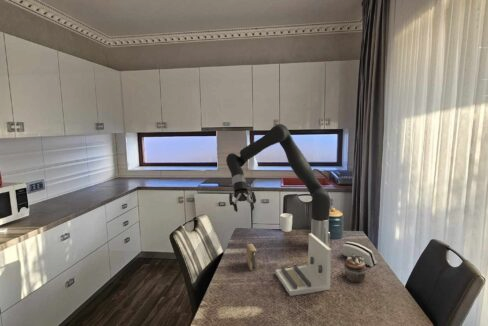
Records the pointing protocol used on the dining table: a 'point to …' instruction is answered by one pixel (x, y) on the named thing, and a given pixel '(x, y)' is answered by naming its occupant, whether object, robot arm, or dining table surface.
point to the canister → (335, 224)
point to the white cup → (286, 222)
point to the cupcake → (355, 268)
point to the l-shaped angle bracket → (309, 271)
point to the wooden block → (251, 257)
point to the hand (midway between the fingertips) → (244, 210)
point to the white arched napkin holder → (359, 252)
